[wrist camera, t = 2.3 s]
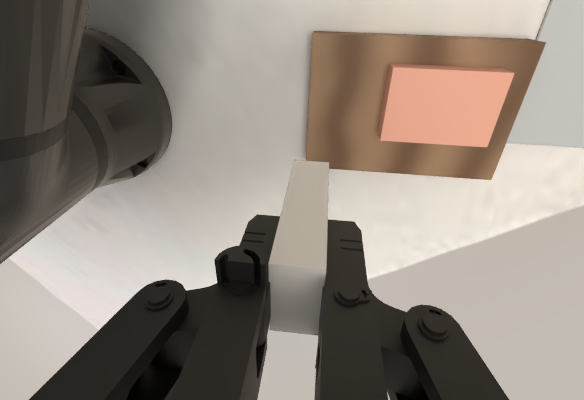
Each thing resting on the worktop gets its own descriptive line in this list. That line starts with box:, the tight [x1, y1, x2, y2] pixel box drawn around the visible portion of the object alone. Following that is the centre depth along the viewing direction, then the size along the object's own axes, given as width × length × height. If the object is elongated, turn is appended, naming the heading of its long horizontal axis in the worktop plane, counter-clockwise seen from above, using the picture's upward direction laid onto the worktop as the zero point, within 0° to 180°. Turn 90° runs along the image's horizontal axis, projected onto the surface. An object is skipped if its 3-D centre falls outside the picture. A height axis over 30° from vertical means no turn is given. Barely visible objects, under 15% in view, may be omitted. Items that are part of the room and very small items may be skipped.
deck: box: [306, 31, 546, 180], centre depth 30 cm, size 18×12×2 cm, turn 88°
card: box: [377, 63, 515, 147], centre depth 27 cm, size 9×6×2 cm, turn 88°
